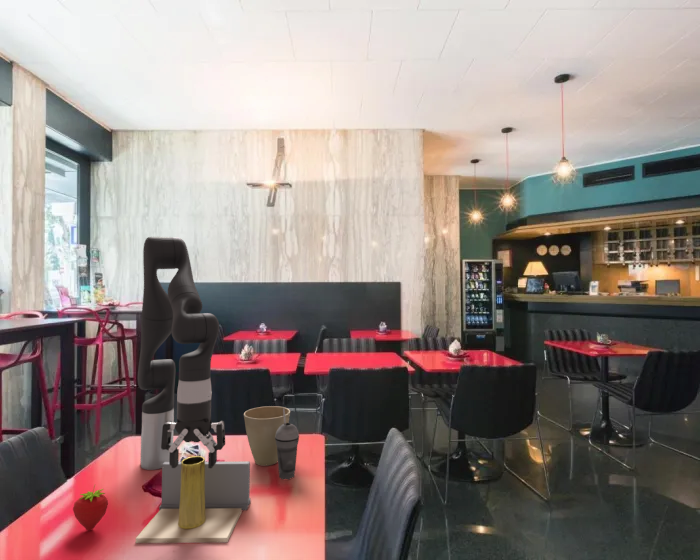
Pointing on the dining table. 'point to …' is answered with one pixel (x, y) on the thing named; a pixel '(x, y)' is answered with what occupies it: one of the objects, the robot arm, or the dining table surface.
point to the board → (211, 530)
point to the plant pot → (264, 432)
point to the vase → (192, 493)
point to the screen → (211, 485)
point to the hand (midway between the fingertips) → (193, 466)
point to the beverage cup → (286, 449)
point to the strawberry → (90, 508)
